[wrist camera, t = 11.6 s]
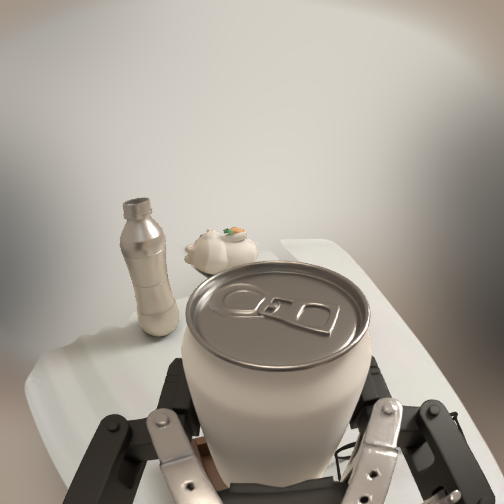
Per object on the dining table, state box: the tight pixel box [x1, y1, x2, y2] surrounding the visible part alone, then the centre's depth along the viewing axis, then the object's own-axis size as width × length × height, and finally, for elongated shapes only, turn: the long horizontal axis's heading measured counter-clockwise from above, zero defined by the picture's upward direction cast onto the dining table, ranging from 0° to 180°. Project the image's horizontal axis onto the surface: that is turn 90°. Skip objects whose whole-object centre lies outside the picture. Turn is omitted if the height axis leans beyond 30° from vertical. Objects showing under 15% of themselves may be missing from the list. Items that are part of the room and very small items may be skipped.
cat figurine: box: [184, 227, 258, 275], centre depth 57 cm, size 10×8×15 cm
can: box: [182, 261, 372, 488], centre depth 11 cm, size 6×6×12 cm
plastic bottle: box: [120, 198, 179, 336], centre depth 37 cm, size 6×7×20 cm
